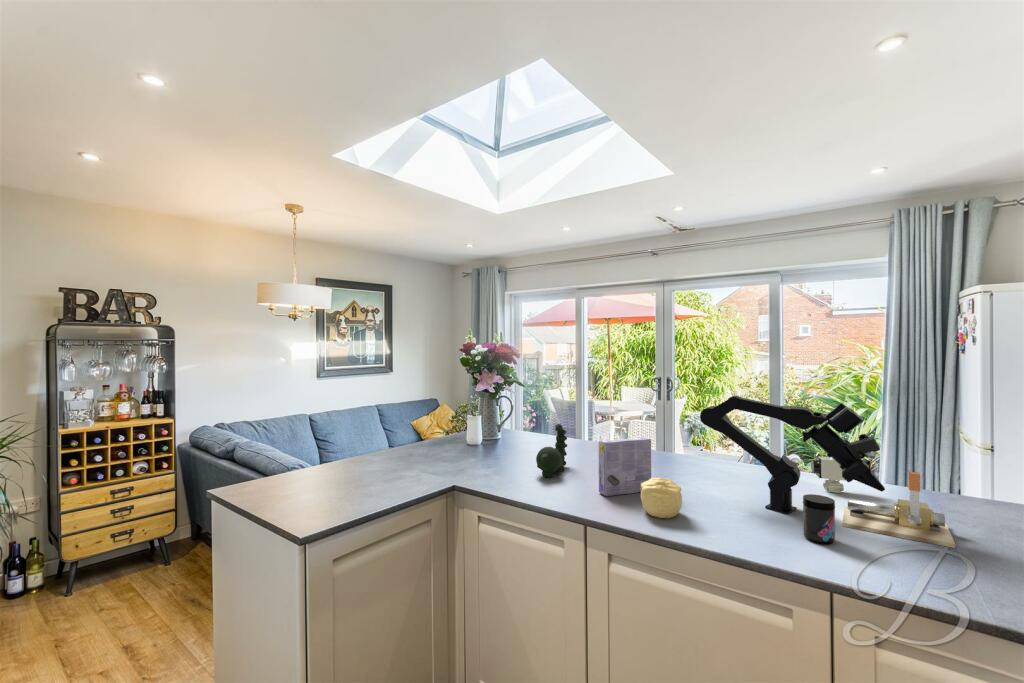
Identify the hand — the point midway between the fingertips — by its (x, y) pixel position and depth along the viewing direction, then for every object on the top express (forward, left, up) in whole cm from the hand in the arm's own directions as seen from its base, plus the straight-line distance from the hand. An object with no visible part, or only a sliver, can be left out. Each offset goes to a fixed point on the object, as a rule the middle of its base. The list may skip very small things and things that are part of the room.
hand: (883, 490), depth 122 cm
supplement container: (-21, +8, -10) cm, 25 cm away
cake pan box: (-29, +62, -10) cm, 69 cm away
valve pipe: (+4, -1, -9) cm, 10 cm away
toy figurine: (-33, +94, -10) cm, 100 cm away
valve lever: (+2, -6, -8) cm, 10 cm away
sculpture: (-37, +43, -10) cm, 58 cm away
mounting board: (+3, -1, -10) cm, 11 cm away
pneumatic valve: (+24, +19, -10) cm, 32 cm away
